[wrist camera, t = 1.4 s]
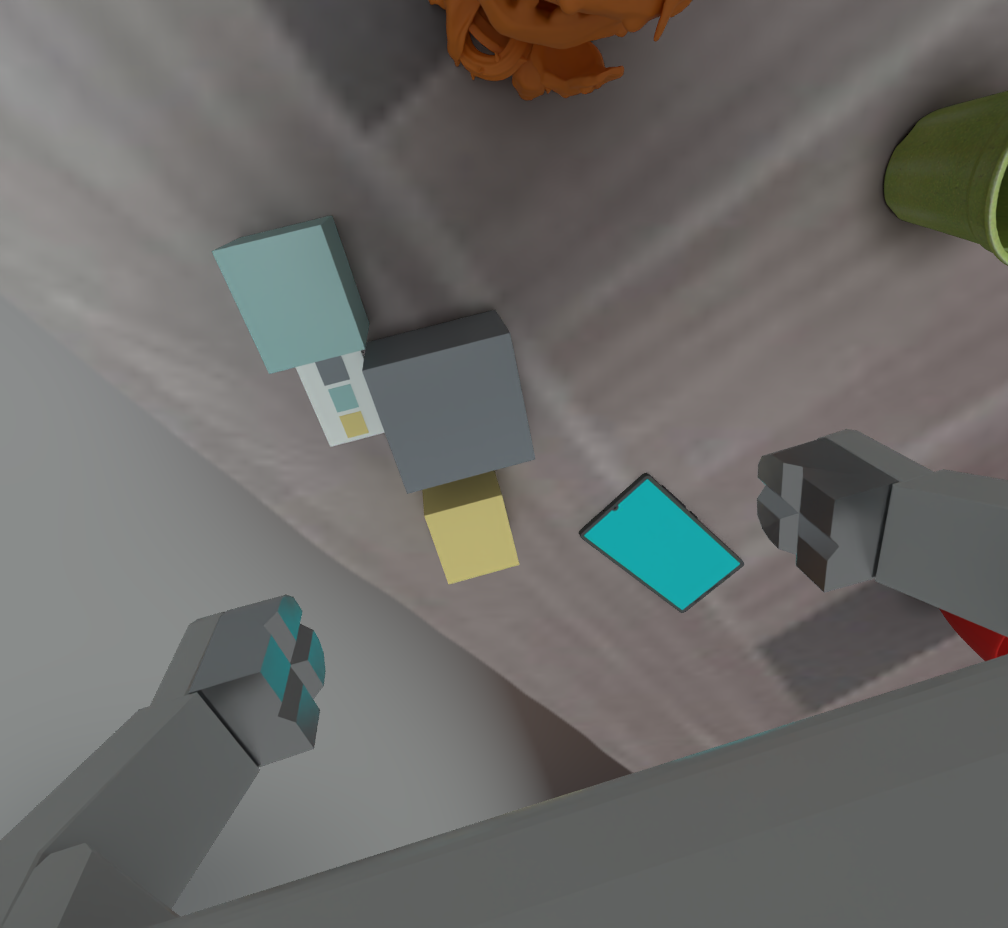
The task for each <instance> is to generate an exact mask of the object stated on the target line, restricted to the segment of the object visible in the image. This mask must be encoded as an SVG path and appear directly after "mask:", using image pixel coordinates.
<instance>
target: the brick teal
mask: <svg viewBox="0 0 1008 928" xmlns="http://www.w3.org/2000/svg"><path fill="white" fill-rule="evenodd" d="M212 253H213V255H214V257H215V259H216V261H217V264H218V266H219V268H220V270H221V272H222V274H223V276H224V278H225V281H226V283H227V285H228V287H229V289H230V291H231V293H232V296H233V298H234V300H235V302H236V304H237V306H238V308H239V310H240V313H241V315H242V317H243V319H244V321H245V323H246V325H247V327H248V330H249V332H250V334H251V336H252V338H253V340H254V342H255V345H256V347H257V349H258V351H259V353H260V355H261V357H262V359H263V362H264V364H265V366H266V368H267V370H268V372H269V374H271V373H275V372H279V371H283V370H286V369H290V368H294V367H298V366H302V365H306V364H310V363H314V362H318V361H322V360H326V359H329V358H333V357H337V356H341V355H345V354H349V353H353V352H357V351H361V350H365V347H366V341H367V335H368V330H369V321H368V318H367V316H366V313H365V310H364V307H363V304H362V301H361V298H360V295H359V292H358V289H357V286H356V284H355V281H354V278H353V275H352V272H351V269H350V266H349V263H348V260H347V257H346V254H345V251H344V249H343V246H342V243H341V240H340V237H339V234H338V231H337V228H336V225H335V222H334V219H333V217H332V215H331V216H327V217H323V218H319V219H314V220H310V221H306V222H302V223H298V224H294V225H290V226H286V227H282V228H277V229H273V230H269V231H265V232H261V233H257V234H253V235H249V236H245V237H240V238H238V239H236V240H234V241H232V242H230V243H228V244H226V245H224V246H222V247H219V248H217V249H215V250H213V251H212Z"/></svg>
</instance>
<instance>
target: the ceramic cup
mask: <svg viewBox="0 0 1008 928" xmlns="http://www.w3.org/2000/svg"><path fill="white" fill-rule="evenodd" d="M939 609H940V608H939ZM940 610H941V612H942V614H943V615H944V617H945V618H946V619H947V621H948V622H949V624H950V625H951V626H952V627H953V629H954V630H955V631H956V632H957V633H958V635H959V636H960V637H961V638H962V639H963V640H964V641H965V642H966V643H967V644H968V645H969V646H970V647H971V648H972V649H973V650H974V651H975V652H976V653H977V654H978V655H979V656H980V657H981V658H982V659H983V660H985V661H988V660H991V659H994V658H997V657H1000V656H1004V655H1007V654H1008V637H1006V636H1004V635H1001V634H999V633H997V632H994V631H992V630H990V629H987V628H985V627H983V626H980V625H978V624H975V623H973V622H971V621H968V620H966V619H964V618H961V617H959V616H957V615H954V614H952V613H949V612H947V611H945V610H942V609H940Z"/></svg>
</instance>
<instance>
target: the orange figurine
mask: <svg viewBox="0 0 1008 928" xmlns="http://www.w3.org/2000/svg"><path fill="white" fill-rule="evenodd" d="M428 1H429V3H430V4H431V5H434V4H438V5H439V6H440V7H442V8H443V9H444V10H446V32H447V41H448V42H447V50H448V53H449V55H450V57H451V58H452V59H453V60H454V62H455V65H456V67H458V66H459V64H460V61H461V63H462V64H463V66H464V67H465V68H466V69H467V70H468V71H469V72H470V73H471V77H472V80H474V79H475V76H477V77H479V78H482V79H485V80H489V81H499V80H504V79H506V78H508V77H510V76H511V75H512V84H513V86H514V87H515V89H516V90H517V91H518V93H519V96H520V97H521V98H522V99H523V100H532V99H533V98H536V97H538V96H540V95H543V93H544V91H545V90H546V92H547V94H548V93H549V92H550V91H551V90H553V91H554V92H556V93H558V94H560V95H561V96H562V97H563V98H568V97H569V96H573V95H577V94H579V93H582V94H587V93H591V92H593V90H594V89H598V88H600V87H601V86H602V85H603V84H605V83H607V82H609V81H611V80H615V79H618V78H620V77H621V76H622V75H623V73H624V67H623V66H619V67H608V68H606V67H605V65H604V61H603V58H602V55H601V53H600V51H599V50H598V48H597V47H596V46H595V45H594V44H593V43H592V42H590V41H593V40H597V39H601V38H605V37H610V36H613V35H617V36H618V37H623V36H625V35H626V34H627V32H636V31H638V30H640V29H641V28H642V27H643V26H644V25H645V24H646V23H647V22H648V21H650V20H652V19H654V18H657V17H659V16H660V19H659V22H658V25H657V28H656V32H655V35H654V41H658V40H659V38H660V36H661V35H662V33H663V31H664V29H665V26H666V24H667V22H668V20H669V18H670V17H674V16H675V15H677V14H678V13H680V12H682V11H683V10H684V9H685V8H686V7H687V6H688V5H689V4H690V3H691V1H692V0H428ZM469 31H470V33H471V34H472V35H473V36H474V37H475V38H476V39H477V40H478V41H479V42H480V43H481V44H482V45H484V46H485V47H486V48H488V49H489V50H490V51H492V52H493V53H495V55H488V54H484V53H482V52H480V51H479V50H477V49H476V47H475V46H474V45H473V43H472V40H471V37H470V33H469Z"/></svg>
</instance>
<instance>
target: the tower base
mask: <svg viewBox="0 0 1008 928" xmlns="http://www.w3.org/2000/svg"><path fill="white" fill-rule="evenodd" d="M362 372H363V375H364V378H365V380H366V383H367V386H368V388H369V391H370V394H371V397H372V399H373V402H374V405H375V407H376V410H377V413H378V416H379V418H380V421H381V424H382V426H383V429H384V432H385V435H386V437H387V440H388V443H389V446H390V448H391V451H392V454H393V456H394V459H395V462H396V465H397V467H398V470H399V473H400V475H401V478H402V481H403V484H404V486H405V489H406V492H407V494H408V493H412V492H416V491H419V490H423V489H427V488H431V487H434V486H438V485H442V484H445V483H449V482H453V481H457V480H460V479H464V478H468V477H471V476H475V475H479V474H483V473H486V472H490V471H494V470H497V469H501V468H505V467H509V466H512V465H516V464H520V463H523V462H527V461H531V460H534V459H535V455H534V450H533V445H532V440H531V435H530V430H529V425H528V420H527V415H526V410H525V405H524V400H523V395H522V390H521V385H520V380H519V375H518V370H517V365H516V360H515V355H514V350H513V345H512V340H511V335H510V332H509V330H508V329H507V327H506V326H505V324H504V323H503V321H502V320H501V318H500V317H499V315H498V314H497V312H496V310H492V311H488V312H484V313H480V314H476V315H472V316H469V317H465V318H461V319H457V320H453V321H449V322H445V323H441V324H437V325H433V326H429V327H425V328H422V329H418V330H414V331H410V332H406V333H402V334H398V335H394V336H390V337H386V338H382V339H378V340H374V341H371V342H367V344H366V350H365V356H364V362H363V368H362Z"/></svg>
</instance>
